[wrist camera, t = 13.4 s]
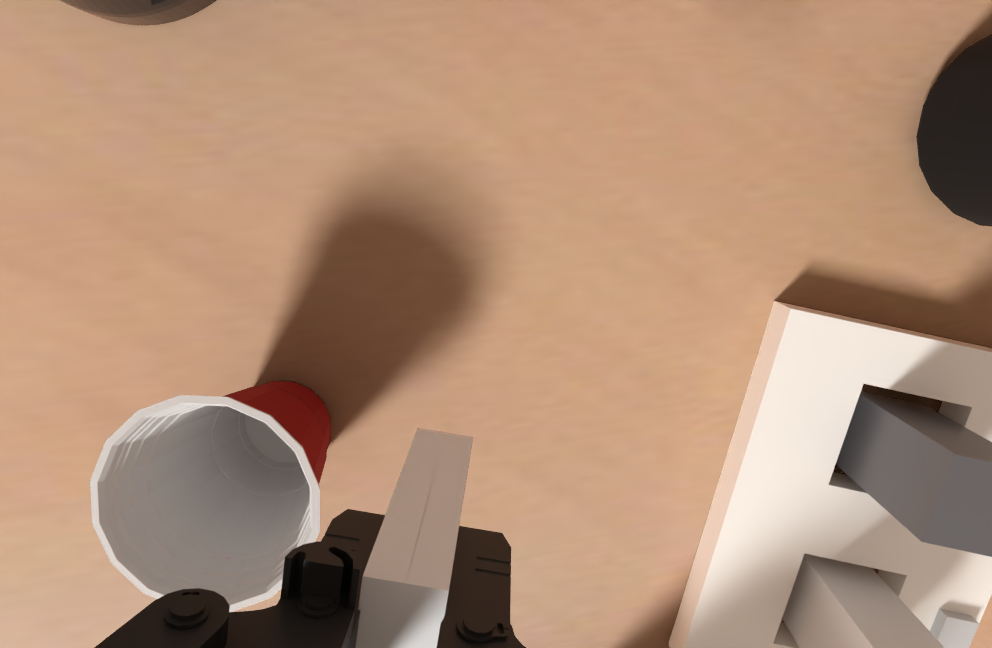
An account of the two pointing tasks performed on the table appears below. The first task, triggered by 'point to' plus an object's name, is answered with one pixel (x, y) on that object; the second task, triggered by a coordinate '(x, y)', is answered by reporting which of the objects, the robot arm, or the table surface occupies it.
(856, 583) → the white peg board
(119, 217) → the table surface
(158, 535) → the plastic cup
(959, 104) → the coffee jar
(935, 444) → the dark grey block
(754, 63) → the table surface
